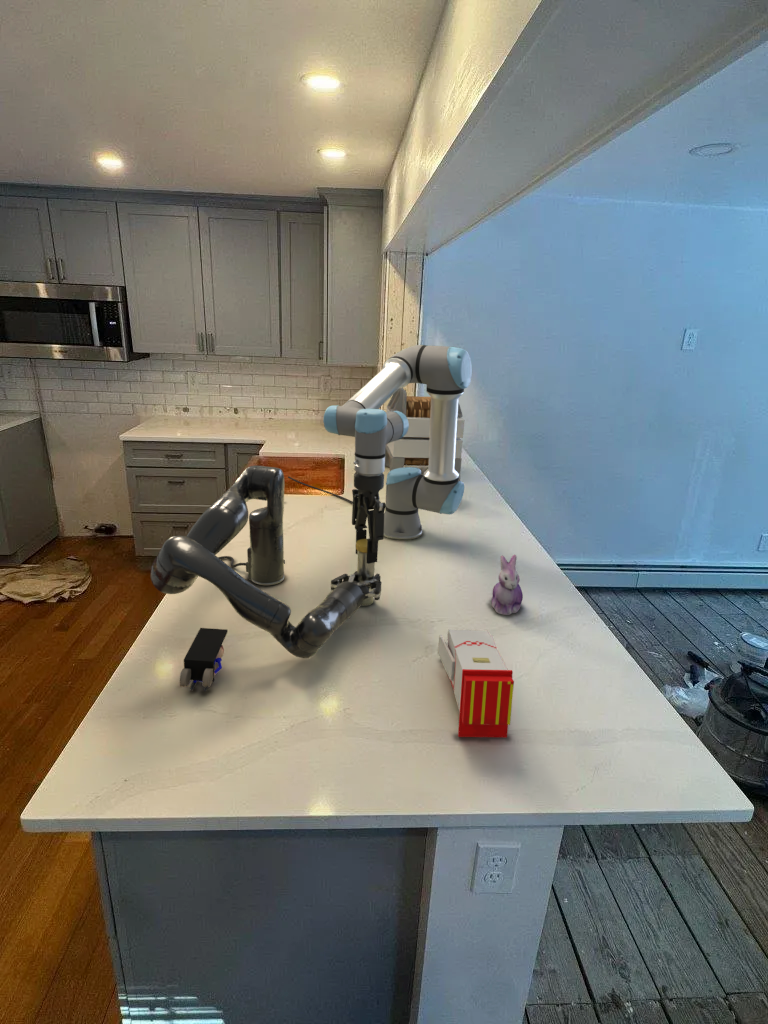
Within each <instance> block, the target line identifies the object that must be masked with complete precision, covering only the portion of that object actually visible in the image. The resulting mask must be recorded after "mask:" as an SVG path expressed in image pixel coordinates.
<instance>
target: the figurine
mask: <svg viewBox="0 0 768 1024" xmlns="http://www.w3.org/2000/svg"><path fill="white" fill-rule="evenodd" d="M517 557H518V556H517V554H513V555H512V556H511V558H510V560H509V561H507V559H506V557H505V556H504V555H501V556H500V558H499V559H500V572H499V574H498V582H497V583H496V584H495V585H494V586H493V588H492V594H491V595H492V597H491V607H492V608H493V609H494V610H495V612H496V613H498V614H499V615H505V616H510V615H512V614H515V613H517V612H519V610H520V609H521V605H522V602H523V599H524V598H523V597H524V593H523V591H522V587H521V585H520V584H519V583H520V575H519V573H518V570H517V567H516V565H517V559H518V558H517Z"/></svg>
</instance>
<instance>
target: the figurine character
mask: <svg viewBox="0 0 768 1024" xmlns="http://www.w3.org/2000/svg"><path fill="white" fill-rule="evenodd" d="M227 634H228V629H223V628H211V627H200V628H199V630H198V631H197V633H196V635H195V637H194V639H193V641H192V642H191V644H190V647H189V648H188V650H187V653H186V654H185V656H184V658H183V668H182V670H181V672H180V675H179V682H178V684H179V686H180V687H186V688H188V687H189V685H190V683H191V685H190V687H189V690H190V692H192V691H194V690H195V688H196V685H197V682H198V683H202V687H204V689H203V691H204V692H206V691H208V690H209V688H210V687H212V684H213V682H215V676H216V675H217V674H218V673H219V672H220V671H221V670H222V668H223V666H222V661H223V659H222V658H223V656H224V654H225V648H224V645H223V643H224V641H225V639H226V636H227ZM216 663H217V667H216V668H215V665H216ZM191 681H192V682H191Z"/></svg>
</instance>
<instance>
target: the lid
mask: <svg viewBox="0 0 768 1024" xmlns="http://www.w3.org/2000/svg"><path fill="white" fill-rule="evenodd" d="M367 539H368V538H366V539H360V540H358V541H357V542H356V541H355V550H356V549H357V550H358V551H360V552H363V553H367Z"/></svg>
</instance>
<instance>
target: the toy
mask: <svg viewBox="0 0 768 1024" xmlns="http://www.w3.org/2000/svg"><path fill="white" fill-rule="evenodd" d="M446 640H447V643H446V641H445V639H444V636H443V635H442V634H439V637H438V646H437V656H438V657H439V659H440V661H441V663H442V666H443V668H444V670H445V672H446V674H447V677H448V679H449V681H450V684H451V687H452V690H453V693H454V697H455V701H456V705H457V708H458V711H459V714H458V715H459V716H458V730H457V731H458V732H457V737H458V738H508V731H509V726H510V725H511V717H512V707H513V697H514V696H513V695H514V684H515V680H514V679H513V673H514V671H513V670H512V669H508V667H507V665H506V662H505V661H504V659H503V658H502V655H501V653H500V651H499V649H498V647H497V643H496V639H495V637H494V635H493V634H491V632H490V631H489V629H467V628H466V629H465V628H463V629H461V628H460V629H459V628H448V630H447V639H446Z"/></svg>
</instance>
